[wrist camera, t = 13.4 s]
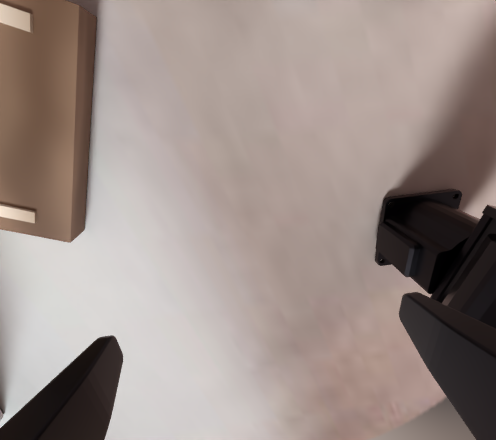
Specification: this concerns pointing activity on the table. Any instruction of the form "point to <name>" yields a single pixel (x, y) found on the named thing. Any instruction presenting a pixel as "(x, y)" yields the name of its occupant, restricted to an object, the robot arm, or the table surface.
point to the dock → (45, 116)
